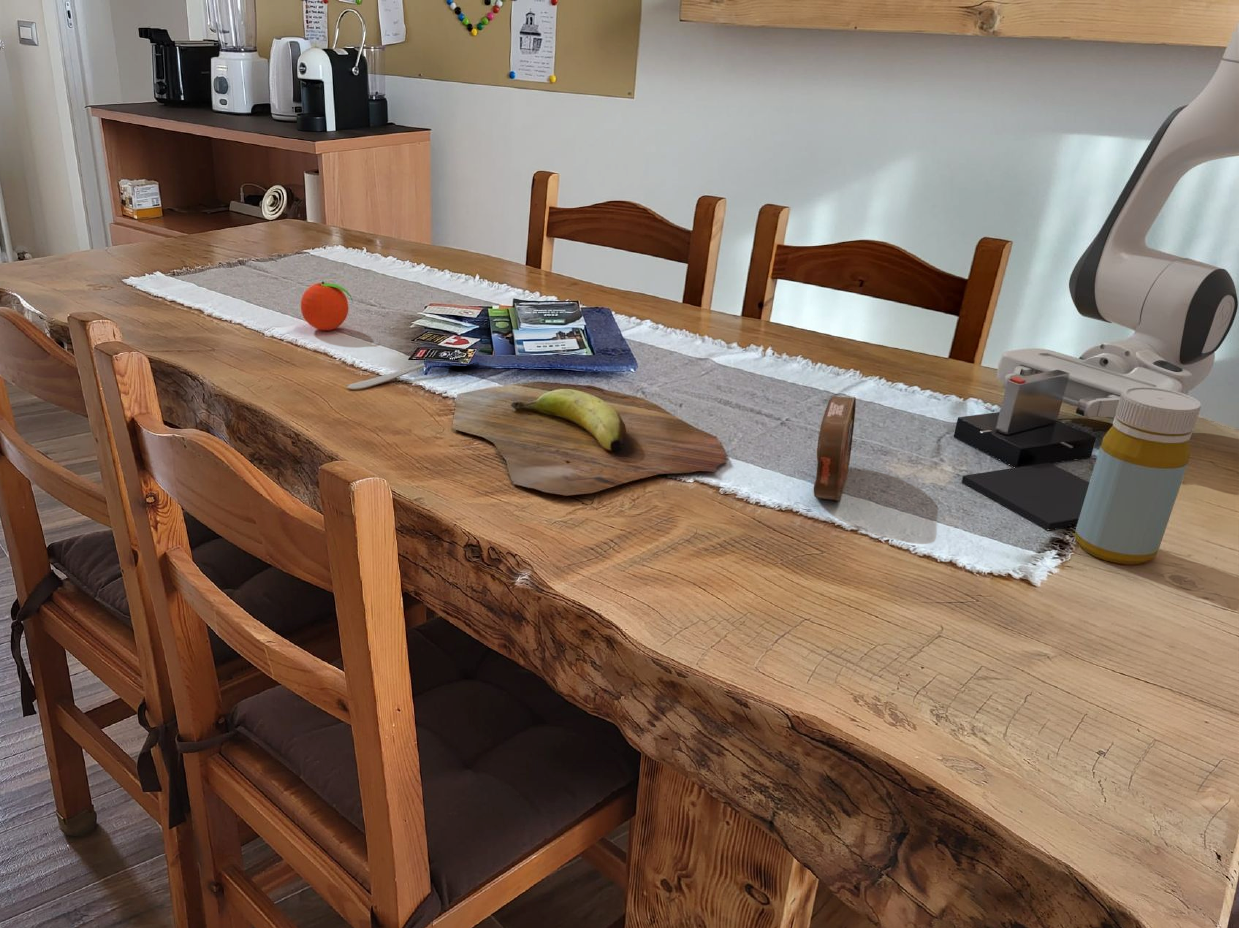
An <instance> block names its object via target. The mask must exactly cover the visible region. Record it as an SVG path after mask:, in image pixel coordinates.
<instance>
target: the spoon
mask: <svg viewBox="0 0 1239 928" xmlns="http://www.w3.org/2000/svg"><path fill="white" fill-rule="evenodd" d="M425 367H426V366H425V365H424V364H423V363H420V364H417V365H414V366H410V367H407V368H404V369H401V370H397V371H394V372H391V373H387V374H384V375H380V376H377V377H373V378H369V379H365V380H362V381H357V382H353V383H350V384H348V385H347V386H346V387H347V390H350V391H359V390H363V389H368V388H371V387H374V386H378V385H380V384H384V383H386V382H390V381H393V380H395V379H397V378H399V377H402V376H405V375H407V374H409V373H411V372H414V371H417V370H419V369H423V368H425Z"/></svg>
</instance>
